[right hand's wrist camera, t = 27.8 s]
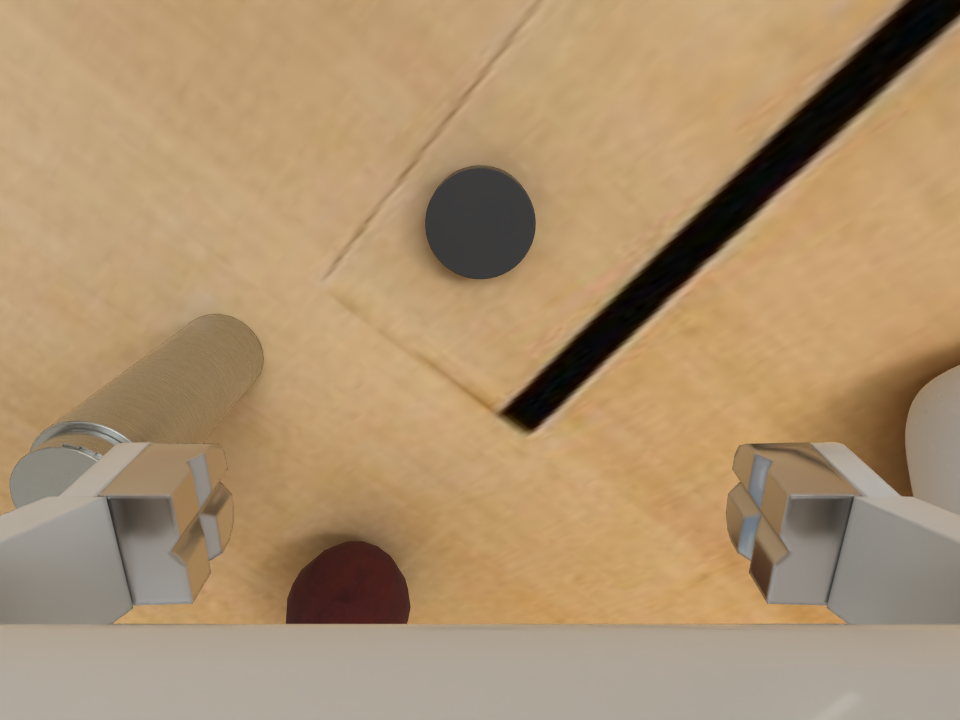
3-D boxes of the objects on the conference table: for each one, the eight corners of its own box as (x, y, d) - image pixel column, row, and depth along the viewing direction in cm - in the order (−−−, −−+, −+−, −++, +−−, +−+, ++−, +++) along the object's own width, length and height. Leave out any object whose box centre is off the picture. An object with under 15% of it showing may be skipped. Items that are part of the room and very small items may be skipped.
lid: (524, 156, 33) (526, 158, 32) (539, 262, 35) (542, 269, 34) (417, 175, 33) (414, 179, 32) (439, 279, 35) (437, 287, 34)
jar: (258, 398, 38) (133, 562, 24) (177, 381, 38) (2, 538, 24) (268, 324, 36) (138, 455, 23) (183, 305, 36) (-3, 427, 22)
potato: (297, 604, 43) (265, 692, 37) (310, 509, 41) (277, 586, 34) (405, 621, 44) (391, 711, 37) (424, 529, 41) (414, 608, 35)
